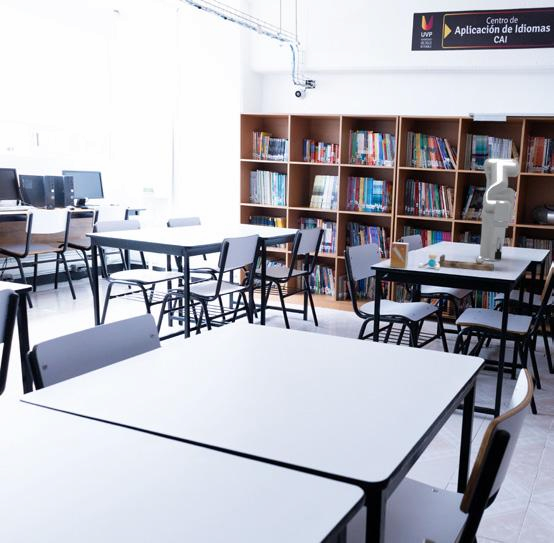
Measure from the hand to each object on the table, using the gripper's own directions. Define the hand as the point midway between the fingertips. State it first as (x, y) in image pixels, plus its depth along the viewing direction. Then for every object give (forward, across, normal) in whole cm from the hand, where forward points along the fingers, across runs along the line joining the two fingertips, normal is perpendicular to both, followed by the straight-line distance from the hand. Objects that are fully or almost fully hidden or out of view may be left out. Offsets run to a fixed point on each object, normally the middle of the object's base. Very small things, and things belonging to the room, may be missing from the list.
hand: (497, 259), depth 348 cm
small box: (+6, +19, -48) cm, 52 cm away
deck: (+6, -1, -16) cm, 17 cm away
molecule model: (+6, +12, -31) cm, 34 cm away
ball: (+1, 0, -9) cm, 9 cm away
